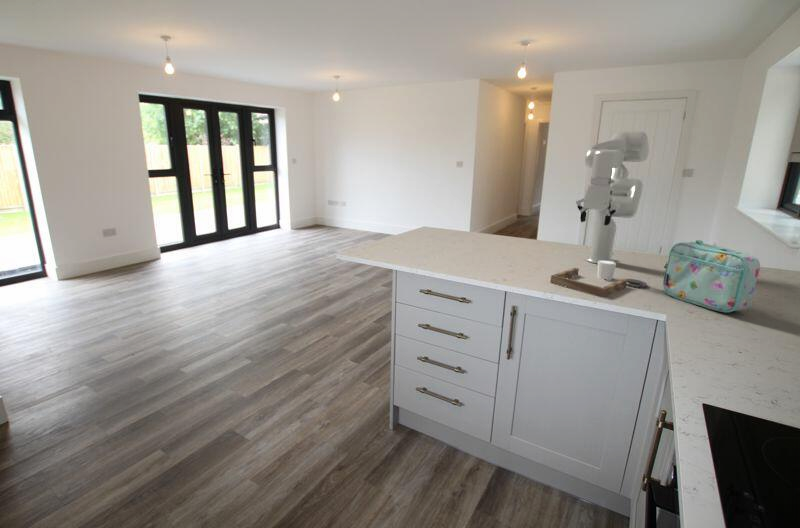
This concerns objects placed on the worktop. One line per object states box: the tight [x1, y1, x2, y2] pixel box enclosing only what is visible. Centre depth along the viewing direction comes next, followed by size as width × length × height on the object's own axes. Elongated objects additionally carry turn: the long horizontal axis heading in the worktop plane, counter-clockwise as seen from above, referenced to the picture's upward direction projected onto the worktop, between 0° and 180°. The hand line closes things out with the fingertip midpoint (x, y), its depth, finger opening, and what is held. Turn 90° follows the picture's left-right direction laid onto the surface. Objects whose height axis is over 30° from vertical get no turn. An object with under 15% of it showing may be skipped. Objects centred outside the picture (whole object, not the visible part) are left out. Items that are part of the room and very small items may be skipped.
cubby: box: [550, 267, 627, 298], centre depth 160 cm, size 20×21×3 cm
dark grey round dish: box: [625, 278, 648, 289], centre depth 162 cm, size 9×9×1 cm
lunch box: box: [662, 239, 761, 313], centre depth 140 cm, size 27×10×21 cm, turn 22°
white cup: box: [596, 260, 617, 281], centre depth 169 cm, size 7×7×7 cm
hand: (594, 223), depth 170 cm, fingers open, 9 cm apart
